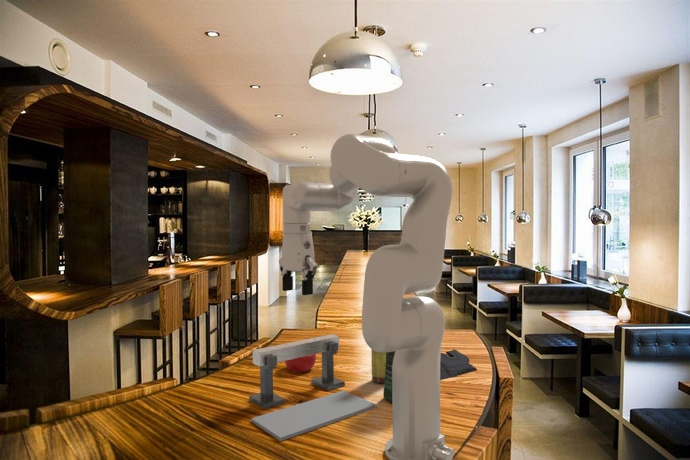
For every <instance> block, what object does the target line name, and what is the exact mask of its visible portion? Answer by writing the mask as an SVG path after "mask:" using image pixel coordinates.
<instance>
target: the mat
mask: <svg viewBox="0 0 690 460" xmlns="http://www.w3.org/2000/svg"><path fill="white" fill-rule="evenodd" d="M373 409H377V404H376V403H374V402H372V401H370V400H366V399H364V398H363V397H360V396H357V395H355V394H353V393H350V392H348V391H346V390H341V391H337V392H334V393H331V394H328V395H325V396H321V397H317V398H315V399H311V400H308V401H304V402H301V403H297V404H295V405H292V406H288V407H284V408H281V409H278V410H274V411H271V412H269V413H268V412H267V413H265V414H261V415H257V416H255V417H252V418H251V419H250V420H251V423H252V424H254V425H256V426H257V427H258V428H260V429H261V430H263V431H265V432H266V433H267V434H268V435H270V436H272V437H274V438H275V439H277V440H278V441H279V442H283V441H285V440H289V439H291V438H294V437H297V436H299V435H303V434H305V433H308V432H312V431H315V430H316V429H320V428H322V427H326V426H329V425H331V424H334V423H337V422H340V421H342V420H345V419H348V418H351V417H354V416H357V415H359V414H361V413H362V414H363V413H365V412H368V411H371V410H373Z"/></svg>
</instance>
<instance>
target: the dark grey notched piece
mask: <svg viewBox="0 0 690 460" xmlns="http://www.w3.org/2000/svg"><path fill="white" fill-rule="evenodd" d="M476 371H478V369H477V368H476V367H475V366H474V365H473V364H472V363H470V357H468V355H466V354H463V353H461V352H460V351H458V350H457V349H455V348H454V349H451V350H448V351H445V353H444V352H441V356H440V381H442V380H447V379H451V378H452V379H453V378H455V377H458V376H461V375H465V374H466V375H467V374H469V373H472V372H476Z"/></svg>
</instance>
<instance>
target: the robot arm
mask: <svg viewBox="0 0 690 460" xmlns="http://www.w3.org/2000/svg"><path fill="white" fill-rule="evenodd" d="M330 163H331V164H330V167H329V172H328V174H329V179H330V181H331V183H330V182H317V181H316V182H315V181H314V182H312V181H311V182H310V181H300V182H296V183H295V184H286V185H285V186H284V187H283V188H282V236H283V237H282V246H281V247H282V248H281V258H280V259H279V260H278V264H279V271H280V273H281V274H280V275H281V278H282V279H281V280H282V281H281V282H282V285H281V286H282V289H281V290H282V292H291V291H293V290H294V276H293V273H300V275H301V276H302V277H301V278H302V279H301V295H302V296H308V295H309V296H310V295H313V294H314V279H315V276H316V273H317V269H318V263H317V262H316V261H315V248H314V240H313V236H312V235H311V234H312V233H311V228H312V227H311V219H312V218H311V212H334V211H338V210H340V209H343V208H344V207H347V206H348V205H350V204H352V203H353V202H354V201H355V199H356V197H357V195H358V193H359V192H358V191H359V189H361V190H362V191H364V192H366V193H367V194H370V195H373V196H376V197H383V198H384V197H386V198H387V197H390V198H411V199H413V201H412V203H411V204H410V205H409V207H408V209H407V210H406V212H405V214H404V217H403V220H402V230H401V236H400V237H401V238H400V242H399V243H397V244H387V245H383V246H380V247H378V248H377V249H375V250H374V251H373V252H372V254H371V255H370V257H369V258H368V260H367V263H366V266H365V272H364V281H363V282H364V283H363V295H362V308H361V332H362V333H361V334H362V337H363V339H364V342H365V343H366V345H367V346H368V347H369V348H370V349H372V350H374V351H376V352H380V353H387V352H392V351H396V352H395V355H394V359H393V365H392V403H391V404H392V438H390V439H389V440H388V441H386V444H385V446H384V453H385V456H386V458H388V460H453V458H454V456H455V454H456V450H455V448H453V447H450V446H447V445H446V441H445V440H446V436H445V435H444V434H442V433H441V380H440V356H441V353H442V346H443V340H444V334H445V328H446V319H445V314H444V311H443V309H442V306H440V304H439V303H438V302H437V301H436V300H435V299H433V298H431V297H429V296H423V295H414V296H407V297H404V296H405V295H408V294H414V293H416V294H417V293H421V292H426V291H430V290H432V289H435V288H436V287H438V285H439V284H440V282H441V279H442V277H443V276H442V275H443V268H444V260H445V259H444V258H445V251H446V249H445V248H446V239H447V227H448V226H447V225H448V220H449V219H448V218H449V213H450V208H451V204H452V199H453V183H452V178H451V177H450V174H449V172H448V170H447V169H446V168H445V166H444V165H442V163H440V162H438V161H436V160H435V159H432V158H430V157H427V156H421V155H415V154H406V153H405V154H404V153H396V150H395V148H394V146H393V145H392V144H391V143H390V142H389V141H388V140H386V139H384V138H381V137H377V136H372V135H371V136H370V135H364V134H355V133H348V134H344V135H341V136H340V137H338V138H337V140H335V142H334V143H333V145H332V147H331V149H330Z"/></svg>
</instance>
